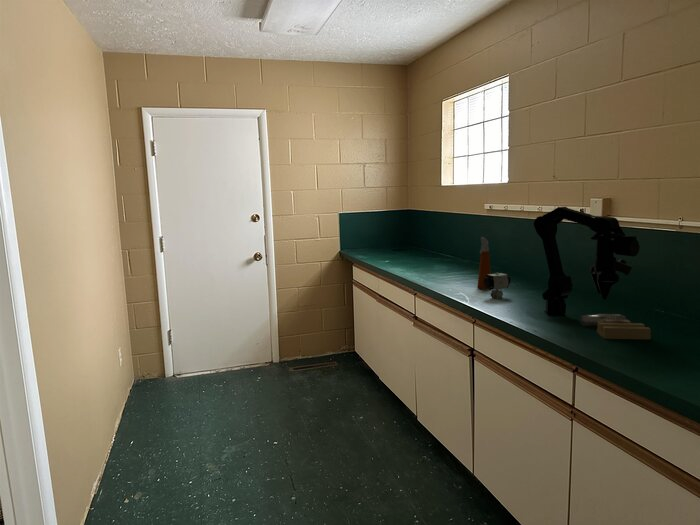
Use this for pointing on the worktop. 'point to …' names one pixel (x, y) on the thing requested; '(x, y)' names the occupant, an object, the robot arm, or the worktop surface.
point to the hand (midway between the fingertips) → (602, 296)
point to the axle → (598, 319)
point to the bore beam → (614, 320)
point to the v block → (623, 331)
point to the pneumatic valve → (497, 283)
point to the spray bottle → (484, 263)
